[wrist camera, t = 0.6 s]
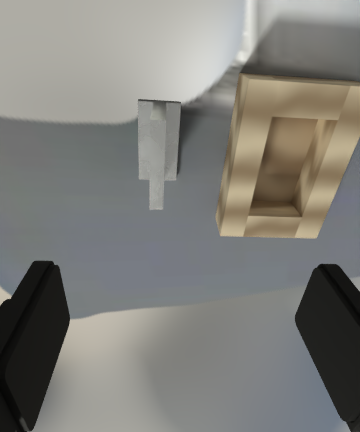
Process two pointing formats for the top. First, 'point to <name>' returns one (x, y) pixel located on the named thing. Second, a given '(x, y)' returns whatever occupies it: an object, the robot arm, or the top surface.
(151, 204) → the t bracket
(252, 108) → the well block
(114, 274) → the top surface
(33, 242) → the top surface
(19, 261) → the top surface
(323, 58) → the top surface
